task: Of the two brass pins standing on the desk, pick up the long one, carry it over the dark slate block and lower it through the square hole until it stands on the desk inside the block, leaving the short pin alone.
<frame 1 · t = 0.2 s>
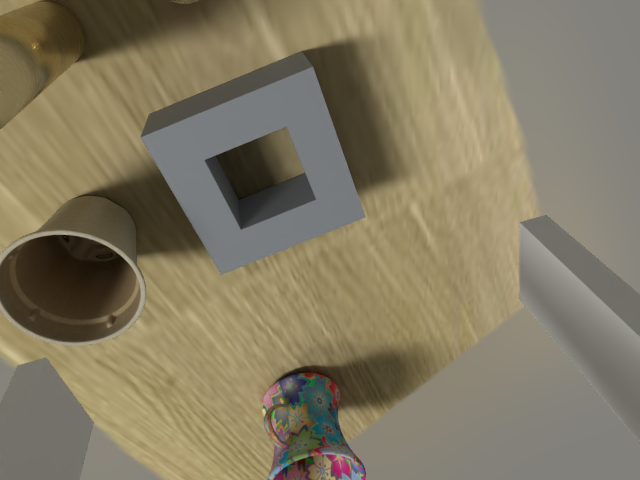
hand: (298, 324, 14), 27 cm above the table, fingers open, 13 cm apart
slate block: (257, 154, 40), on the table
long pin: (52, 34, 33), on the table
mug: (292, 387, 54), on the table
flower pot: (97, 227, 41), on the table
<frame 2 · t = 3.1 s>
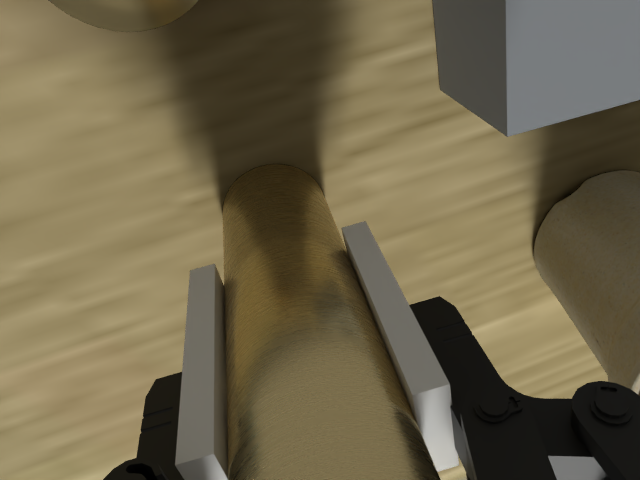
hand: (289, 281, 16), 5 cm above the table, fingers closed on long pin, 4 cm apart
long pin: (275, 212, 20), on the table, touching gripper
flower pot: (592, 227, 23), on the table
when the fingers open (7 cm above the table, at t = 7.5 s): long pin drops 2 cm, resting in slate block.
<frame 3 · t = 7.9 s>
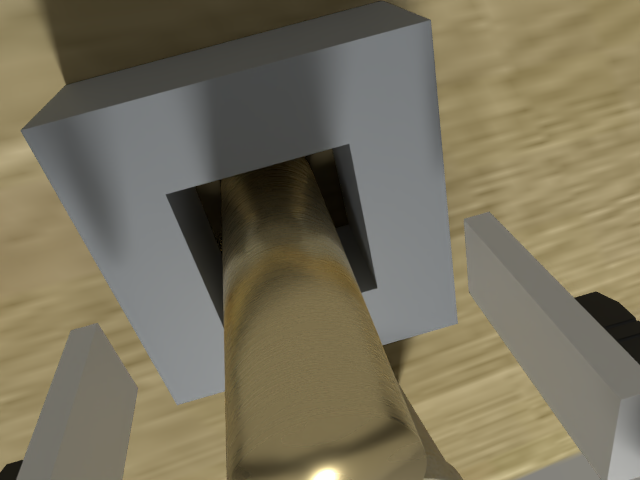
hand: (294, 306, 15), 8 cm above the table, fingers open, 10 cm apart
slate block: (269, 185, 22), on the table
long pin: (268, 186, 22), resting in slate block
flower pot: (344, 393, 30), on the table
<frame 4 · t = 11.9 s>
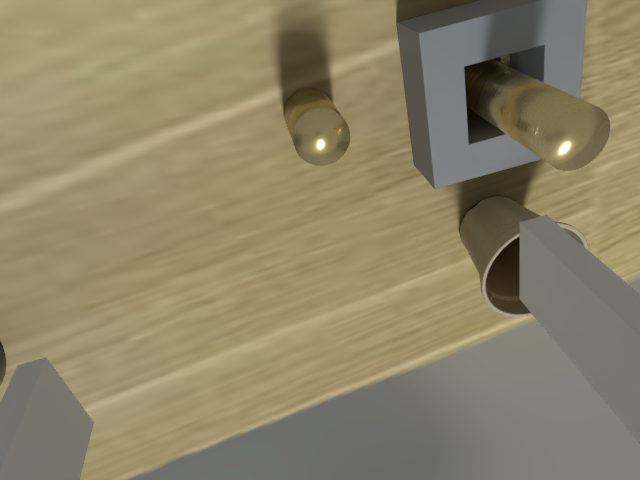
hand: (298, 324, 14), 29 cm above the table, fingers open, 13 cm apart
slate block: (475, 80, 41), on the table
long pin: (475, 80, 41), resting in slate block
flower pot: (488, 222, 49), on the table
short pin: (309, 113, 40), on the table
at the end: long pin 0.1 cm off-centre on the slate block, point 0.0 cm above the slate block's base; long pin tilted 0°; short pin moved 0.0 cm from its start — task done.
